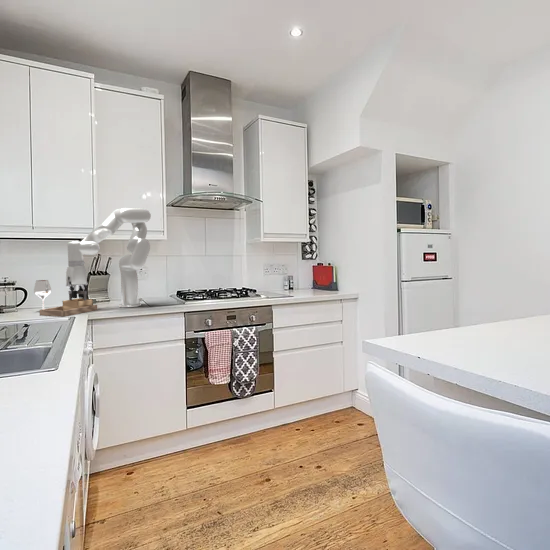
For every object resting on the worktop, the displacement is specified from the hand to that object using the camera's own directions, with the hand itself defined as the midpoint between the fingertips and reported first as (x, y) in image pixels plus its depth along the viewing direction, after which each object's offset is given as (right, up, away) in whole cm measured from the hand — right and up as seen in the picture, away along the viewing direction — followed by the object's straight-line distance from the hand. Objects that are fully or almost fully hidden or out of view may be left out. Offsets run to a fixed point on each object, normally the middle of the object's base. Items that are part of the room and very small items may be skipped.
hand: (77, 297), depth 205 cm
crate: (0, -8, +1) cm, 8 cm away
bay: (-2, -9, -5) cm, 10 cm away
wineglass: (-20, -9, +3) cm, 22 cm away
